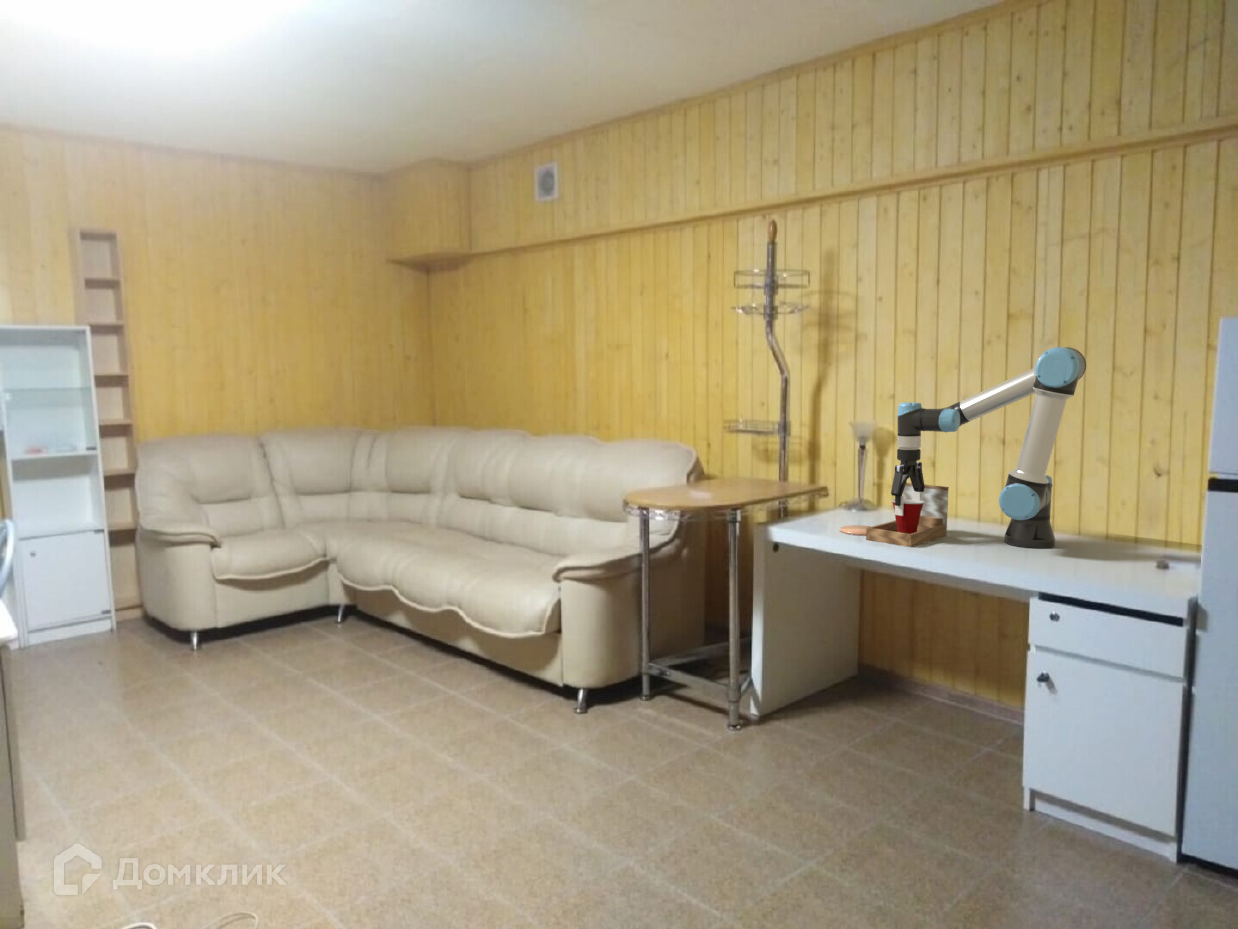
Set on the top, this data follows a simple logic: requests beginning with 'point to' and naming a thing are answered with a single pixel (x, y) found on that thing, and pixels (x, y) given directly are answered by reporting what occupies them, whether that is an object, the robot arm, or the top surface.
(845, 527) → the saucer
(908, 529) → the plastic cup
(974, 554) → the top surface
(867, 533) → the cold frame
